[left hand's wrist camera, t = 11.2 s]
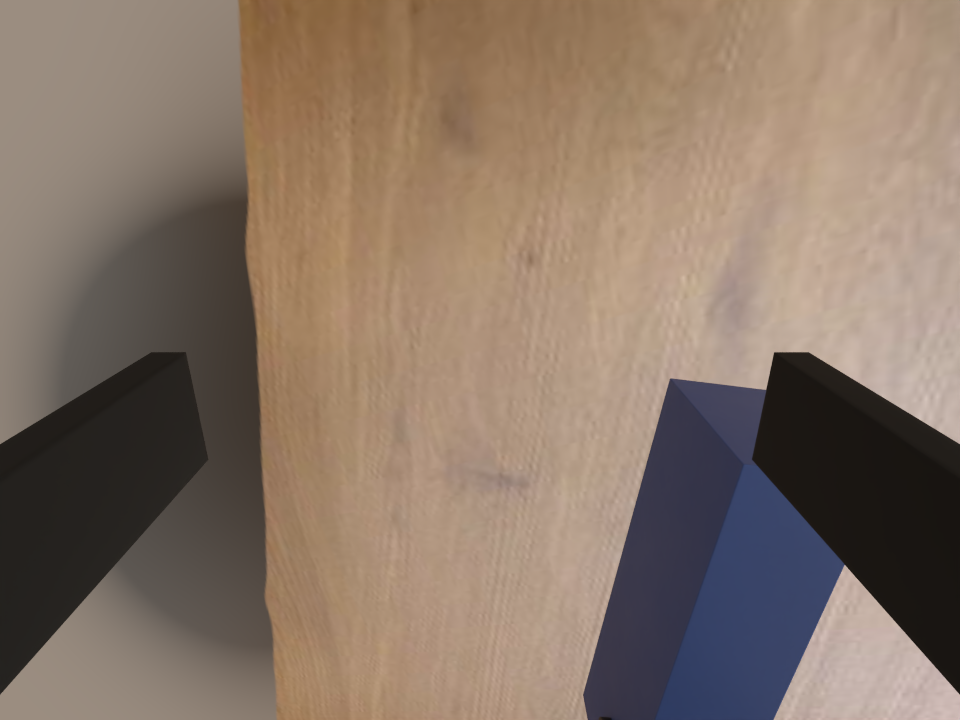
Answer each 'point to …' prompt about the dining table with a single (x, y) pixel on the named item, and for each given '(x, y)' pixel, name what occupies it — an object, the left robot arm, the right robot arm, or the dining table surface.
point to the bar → (709, 574)
